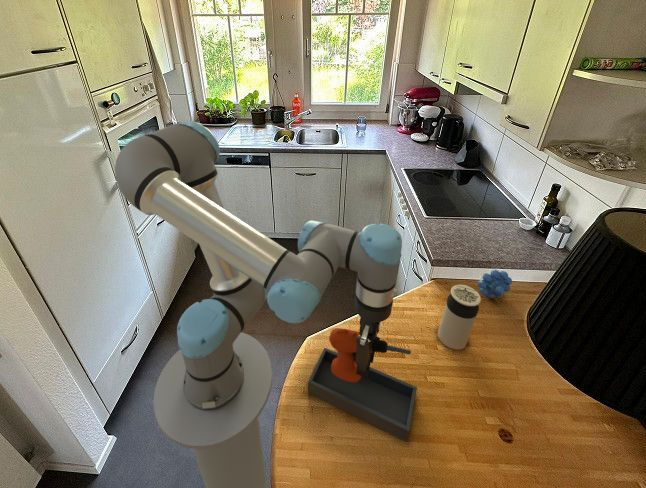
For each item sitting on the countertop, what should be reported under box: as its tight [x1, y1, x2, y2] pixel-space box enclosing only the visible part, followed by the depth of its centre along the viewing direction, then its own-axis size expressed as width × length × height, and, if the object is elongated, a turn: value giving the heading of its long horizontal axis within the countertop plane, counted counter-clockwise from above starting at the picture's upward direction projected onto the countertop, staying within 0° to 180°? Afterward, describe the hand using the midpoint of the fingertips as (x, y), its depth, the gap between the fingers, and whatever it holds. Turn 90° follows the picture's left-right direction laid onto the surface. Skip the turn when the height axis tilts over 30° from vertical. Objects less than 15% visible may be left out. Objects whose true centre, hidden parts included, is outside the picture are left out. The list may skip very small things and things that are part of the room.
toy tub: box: [307, 347, 418, 442], centre depth 81 cm, size 25×11×5 cm, turn 64°
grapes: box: [477, 269, 513, 299], centre depth 106 cm, size 12×7×12 cm, turn 95°
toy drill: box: [328, 327, 412, 382], centre depth 74 cm, size 5×19×15 cm, turn 70°
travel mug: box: [437, 284, 482, 351], centre depth 92 cm, size 8×8×18 cm
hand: (364, 366), depth 76 cm, fingers closed on toy drill, 3 cm apart
